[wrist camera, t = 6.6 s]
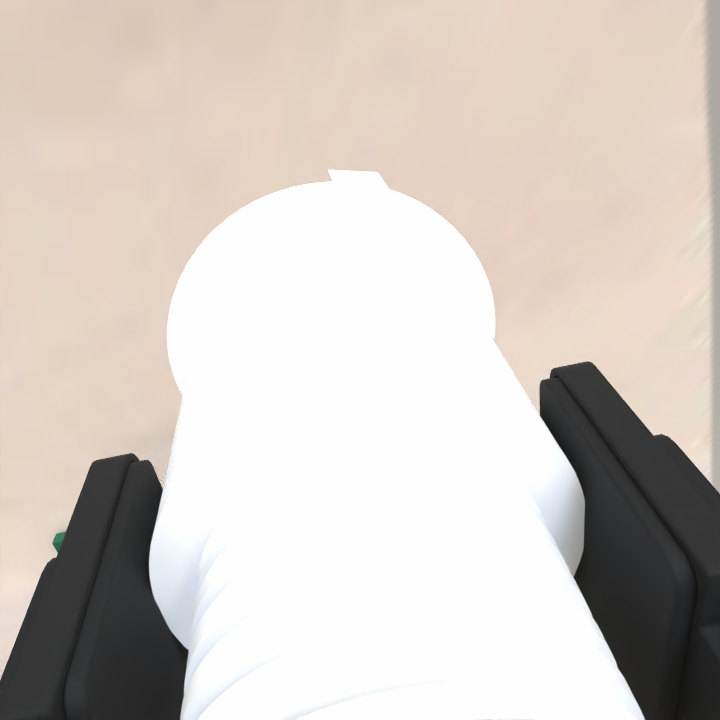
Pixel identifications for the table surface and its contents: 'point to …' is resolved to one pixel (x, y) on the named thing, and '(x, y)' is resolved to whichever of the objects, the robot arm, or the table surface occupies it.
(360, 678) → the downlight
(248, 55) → the table surface
